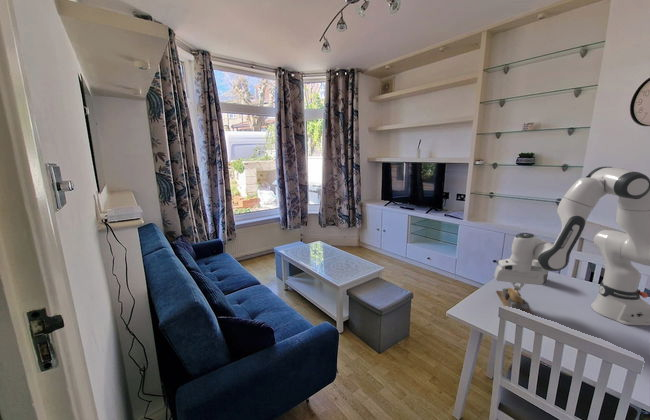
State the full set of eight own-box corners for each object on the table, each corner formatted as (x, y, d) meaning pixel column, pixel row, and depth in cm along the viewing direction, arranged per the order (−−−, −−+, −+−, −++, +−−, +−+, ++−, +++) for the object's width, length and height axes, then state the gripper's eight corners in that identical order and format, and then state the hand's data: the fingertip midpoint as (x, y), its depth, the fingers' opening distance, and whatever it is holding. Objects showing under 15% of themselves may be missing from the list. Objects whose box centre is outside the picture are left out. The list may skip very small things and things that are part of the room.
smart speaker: (530, 274, 165) (534, 253, 162) (548, 280, 158) (553, 258, 154) (524, 279, 160) (528, 257, 156) (543, 285, 153) (547, 263, 149)
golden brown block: (513, 296, 141) (514, 288, 140) (521, 309, 131) (523, 300, 130) (506, 296, 142) (508, 287, 141) (514, 308, 132) (516, 299, 131)
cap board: (517, 294, 145) (518, 287, 144) (533, 317, 126) (534, 309, 125) (496, 292, 148) (497, 284, 146) (508, 314, 129) (510, 306, 128)
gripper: (542, 263, 132) (538, 288, 136) (495, 260, 138) (492, 284, 142) (548, 269, 126) (543, 295, 130) (498, 265, 132) (495, 290, 136)
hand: (516, 289), depth 136 cm, fingers closed
